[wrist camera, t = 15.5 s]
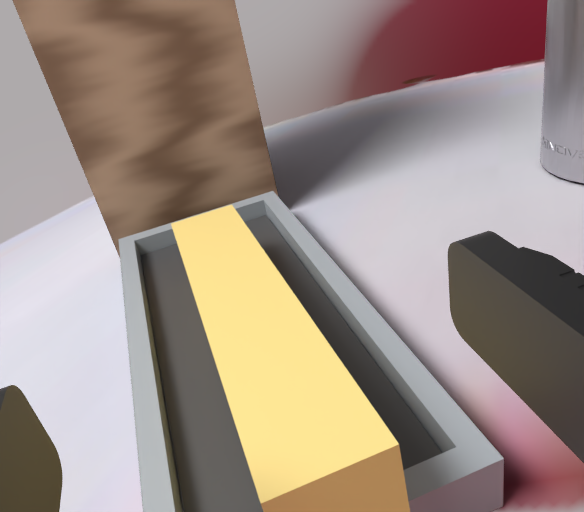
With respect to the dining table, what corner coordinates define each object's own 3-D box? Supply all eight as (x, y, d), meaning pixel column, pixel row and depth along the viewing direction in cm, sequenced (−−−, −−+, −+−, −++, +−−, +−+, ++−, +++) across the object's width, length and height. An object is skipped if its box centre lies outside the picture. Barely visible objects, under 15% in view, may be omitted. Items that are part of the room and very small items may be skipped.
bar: (247, 258, 32) (231, 204, 30) (414, 536, 15) (399, 444, 13) (189, 278, 31) (170, 223, 30) (292, 594, 14) (261, 503, 12)
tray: (279, 220, 39) (272, 190, 37) (502, 506, 17) (504, 458, 16) (130, 269, 37) (118, 239, 35) (178, 658, 15) (152, 616, 14)
